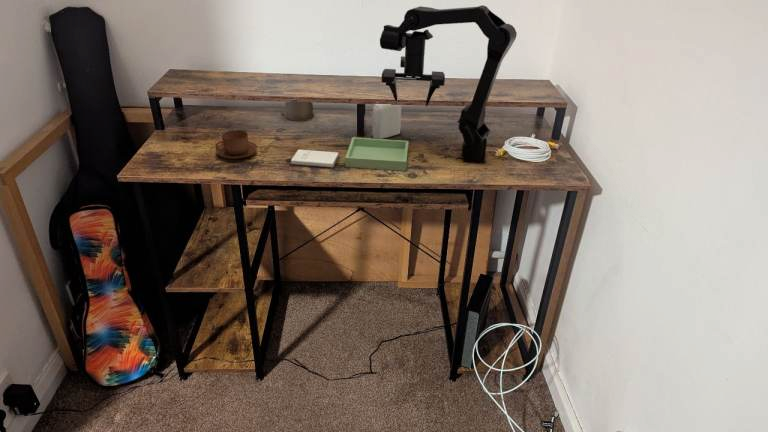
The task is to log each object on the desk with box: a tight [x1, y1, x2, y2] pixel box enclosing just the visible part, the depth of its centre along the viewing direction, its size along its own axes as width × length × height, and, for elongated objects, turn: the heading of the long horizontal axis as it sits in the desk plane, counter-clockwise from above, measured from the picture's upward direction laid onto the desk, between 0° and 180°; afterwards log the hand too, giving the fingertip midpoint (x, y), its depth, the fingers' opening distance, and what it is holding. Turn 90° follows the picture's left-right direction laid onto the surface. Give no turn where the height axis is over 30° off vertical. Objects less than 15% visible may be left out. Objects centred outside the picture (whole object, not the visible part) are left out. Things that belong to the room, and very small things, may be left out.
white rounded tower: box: [371, 103, 402, 139], centre depth 167 cm, size 10×4×12 cm, turn 129°
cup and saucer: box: [215, 129, 258, 160], centre depth 152 cm, size 12×12×6 cm
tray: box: [344, 136, 409, 172], centre depth 154 cm, size 18×16×3 cm
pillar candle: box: [284, 101, 314, 122], centre depth 180 cm, size 10×10×15 cm
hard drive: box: [290, 149, 340, 169], centre depth 151 cm, size 2×8×12 cm
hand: (411, 105), depth 158 cm, fingers open, 9 cm apart
